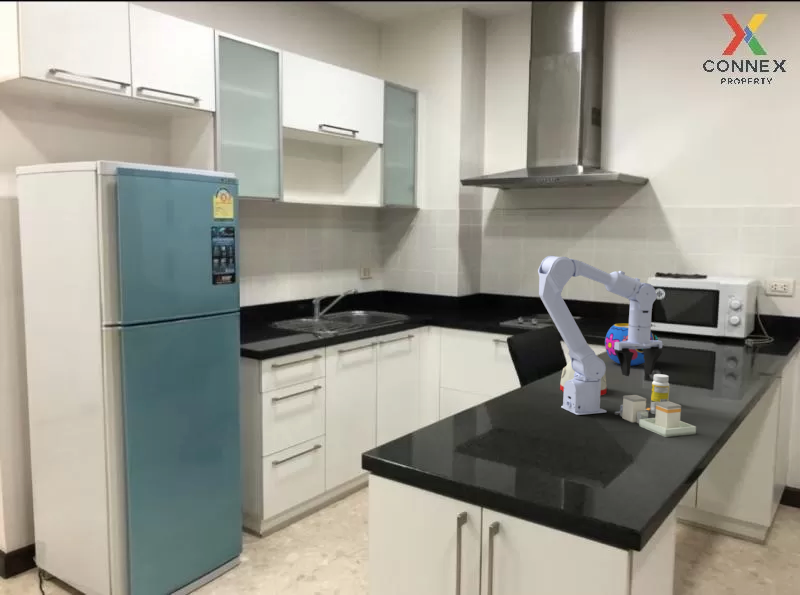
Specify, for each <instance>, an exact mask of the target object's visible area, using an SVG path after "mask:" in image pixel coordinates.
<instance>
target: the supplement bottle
mask: <svg viewBox="0 0 800 595" xmlns="http://www.w3.org/2000/svg"><path fill="white" fill-rule="evenodd" d="M669 377H670V376H669V375H667V374H661V373H656V374H653V377H652V378H653V381H652V383H651V394H650V403H651V402H666V401H670V400H669V399H670V385H671V384H670V383H669Z"/></svg>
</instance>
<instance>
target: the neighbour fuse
mask: <svg viewBox="0 0 800 595" xmlns="http://www.w3.org/2000/svg"><path fill="white" fill-rule="evenodd" d="M622 398H623V400H622V405H623V414H622V416H621V417H622V419H624V420H625V421H628V422H630V423H636V421H637V411H646V409H647V398H646V397H645V396H644V397H643V396H641V395H638V394H632V395H631V394H630V395H623V396H622Z"/></svg>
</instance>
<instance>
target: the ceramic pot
mask: <svg viewBox="0 0 800 595" xmlns="http://www.w3.org/2000/svg"><path fill="white" fill-rule="evenodd" d="M628 329H629V323H622V322H621V323H615V324H613V325H612V326H611V327H610V328H609V329H608V330H607V333H606V335H605V337H604V338H605V339H604V346H605V347H604V348H605V351H606V353H607V356H608V357H609V358H610V360H611V361H613V362H615V363H617V364H619V365H620V362H619V359H618V357H617V355H616V353H615V349H614V345H615V342H621V341H628ZM650 340H659V338H658V336H657V335H656V334H654V333H652V331H650ZM635 347H639V346H635ZM629 350H630V352H633V353H634V354H633V357H632V360H631V365H630V367H635V366H639V365H643V364H645V359H644V352H643V349H629Z"/></svg>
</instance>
